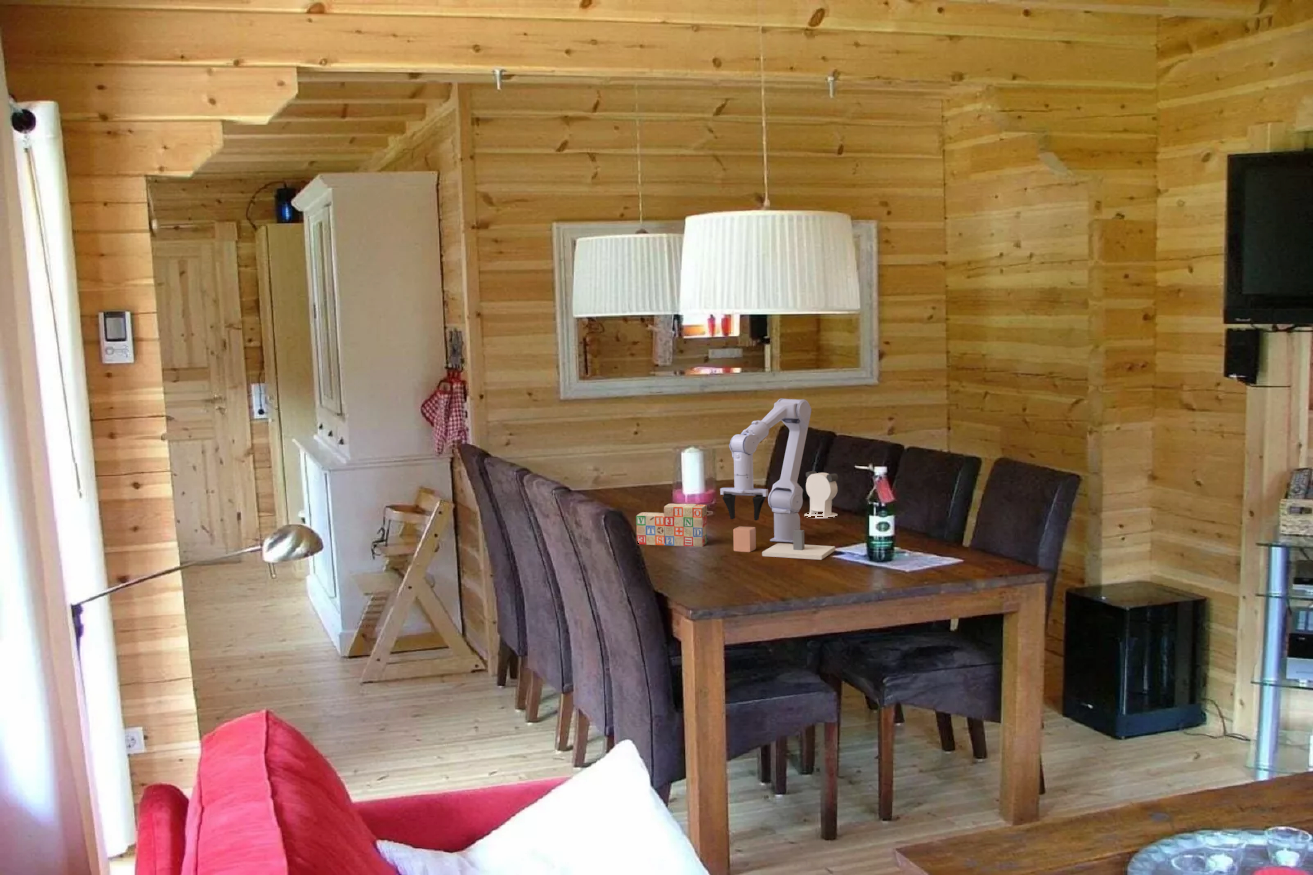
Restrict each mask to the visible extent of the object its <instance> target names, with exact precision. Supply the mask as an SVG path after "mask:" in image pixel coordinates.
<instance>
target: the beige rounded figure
mask: <svg viewBox="0 0 1313 875" xmlns="http://www.w3.org/2000/svg"><path fill="white" fill-rule="evenodd" d="M805 477H806V481H805V482H806V483H805V491H806V494H807V495H808V497H809V512H806V513H804V517H805V516H808V517H811V516H815V518H814V519H829V518H828V517H833V518H836V517H835V516H837V517H838V513H836V512H832V506H833V505H834V504H835V500H834V498H835V497H836V496H837V493H838V491H839V487H838V483H837V481H838V480H839V476H838V473H827V472H818V473H817V471H815V470H812V471H807V472H805ZM818 512H823V513H822V514H818ZM807 513H809V514H807ZM815 513H816V514H815ZM817 516H823V517H817ZM808 517H807V518H808Z"/></svg>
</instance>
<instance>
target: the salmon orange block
mask: <svg viewBox="0 0 1313 875" xmlns="http://www.w3.org/2000/svg"><path fill="white" fill-rule="evenodd" d="M756 528H757V527H755V526H741V525H739V526H738V527H735V528H734V529H733V530H732V531H733V533H732V534H733V540H732V541H733V551H734V552H742V553H750V552H753V551H755V550H756V549H757V543H756V542H757V541H756V540H757V537H756V533H757V531H756Z"/></svg>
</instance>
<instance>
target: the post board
mask: <svg viewBox="0 0 1313 875" xmlns="http://www.w3.org/2000/svg"><path fill="white" fill-rule="evenodd" d="M835 551H836V546H835V545H833V546H831V545H816V544H805V530H804V529H800V530H795V531H793V542H792V543H786V542H777V543H775V544H774V545H772V546H770V547H769V548H766V549H764V550H763V551H762V552H761V556H762V557H773V558H775V557H776V558H789V559H805V560H820V561H822V560H823V559H825V558H826V557H827V556H829V555H831V554H832V553H834V552H835Z"/></svg>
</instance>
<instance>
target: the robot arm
mask: <svg viewBox="0 0 1313 875" xmlns="http://www.w3.org/2000/svg"><path fill="white" fill-rule="evenodd" d="M811 414H812V407H811V405H810V403H809V401H808V400H807V399H804V398H803V399H798V398H797V399H795V398H792V399H791V398H784V397H783V398H779V399H778V400H777V401H775V402H774V403H773V408H772V409H771V410H770V411H769V412H768V413H767V414H766V415H765V416H764V417H763V418H762V419H761V420H759V419H757V420H752V421H751V424H750V425H749V426H748V427H747V428H745V429H743V430H742V432H741V433H740V434H737V433H736V434H734V435H733V436H732V437H731V439H730V441H729V444H728V446H729V450H730V452H731V457H732V459H733V479H734V480H733V481H734V482H733V485H734V487H721V488H719V491H720V492H719V493H720V496H721V495H722V500H723V502H724V504H725V506H726V508H727V511H728V516H729V519H730V520H734V519H735V518H736V510H735V506H736V496H751V497H752V496H753V497H752V503H753V520H754V521H758V520H760V514H761V510H762V507H763V505H764V503H765V500H766V499H767V502H768V507H770V509H771V512H772V513H773V533H774V534H773V536H774V537H772V538H770V539H769V542H777V543H793V531H795V530H801V517H800V514H799V512H800V510H801V508H802V506H803V502H804V500H803V492H804V489H803V488H802V486H800V484H799V483H798V478H799V474H800V470H801V466H802V465H801V464H802V459H803V454H804V449H805V445H806V439H807V434H808V429H809V425H810V419H811ZM779 422H782V423H783V424H784V425H785V426H786V428H788V430H789V432H788V438H787V442H786V447H785V453H784V458H783V461H782V462H783V463H782V467H781V474H780V477H779V480H777V481H775V483H773V484H772V487H771V490H770V492H769V489H768V488H767V489H766V488H757V487H754V453H755V452H756V451H757V448H758V446H759V444H760V442H762V441H763V440H764V439H765V438H766V437H768V436H769V432H770V429H771V428H773V427H774V426H775V425H776V424H778V423H779Z"/></svg>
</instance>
